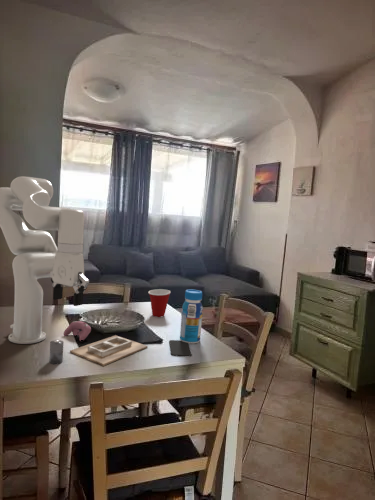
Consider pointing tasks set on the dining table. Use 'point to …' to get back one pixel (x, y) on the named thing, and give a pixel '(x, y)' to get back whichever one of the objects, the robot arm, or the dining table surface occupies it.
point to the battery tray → (108, 350)
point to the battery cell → (56, 352)
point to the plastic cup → (159, 301)
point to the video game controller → (75, 328)
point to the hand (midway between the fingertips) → (67, 302)
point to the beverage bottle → (191, 317)
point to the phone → (179, 348)
